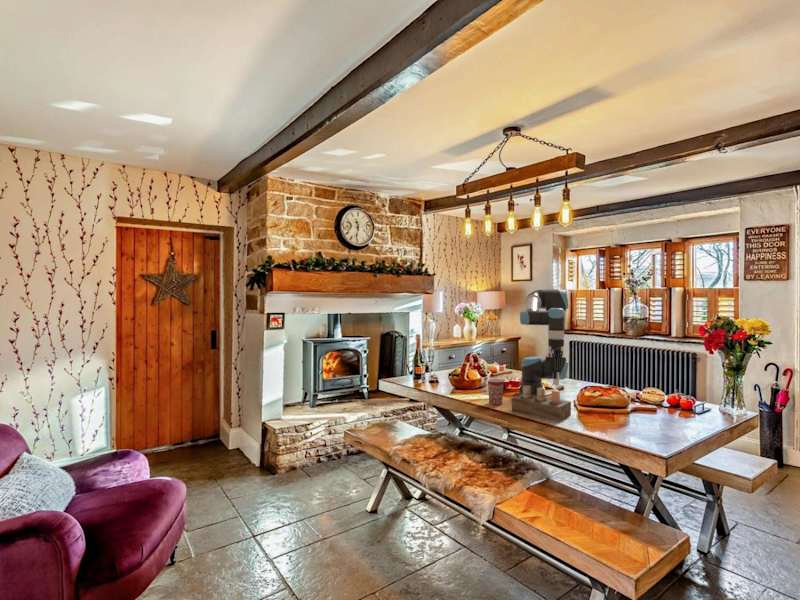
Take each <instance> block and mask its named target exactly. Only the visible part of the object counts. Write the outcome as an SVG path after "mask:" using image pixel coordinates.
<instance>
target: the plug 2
mask: <svg viewBox="0 0 800 600" xmlns="http://www.w3.org/2000/svg"><path fill="white" fill-rule="evenodd" d="M551 398H552V403H553V404H560V400H561V391H560V390H557V389H556V390H555V389H553V390H551Z"/></svg>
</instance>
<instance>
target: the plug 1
mask: <svg viewBox="0 0 800 600" xmlns="http://www.w3.org/2000/svg"><path fill="white" fill-rule="evenodd" d="M530 393H531V386H523V398H525V399H530Z"/></svg>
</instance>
